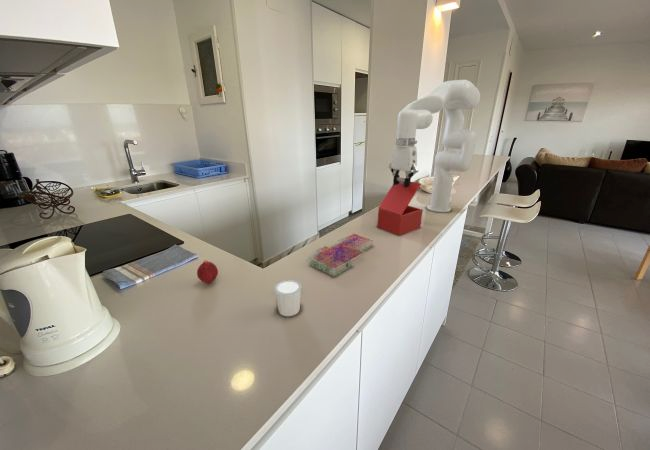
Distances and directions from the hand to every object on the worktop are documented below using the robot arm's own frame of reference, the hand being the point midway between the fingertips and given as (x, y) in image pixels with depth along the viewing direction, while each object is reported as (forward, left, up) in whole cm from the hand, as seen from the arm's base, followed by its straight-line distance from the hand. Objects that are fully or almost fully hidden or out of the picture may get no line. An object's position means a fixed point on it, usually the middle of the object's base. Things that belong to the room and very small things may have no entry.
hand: (401, 185), depth 121 cm
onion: (+83, -6, -20) cm, 85 cm away
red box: (-1, 0, -20) cm, 20 cm away
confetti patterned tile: (+38, +6, -20) cm, 43 cm away
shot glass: (+70, +20, -20) cm, 75 cm away
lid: (+1, 0, -5) cm, 5 cm away
